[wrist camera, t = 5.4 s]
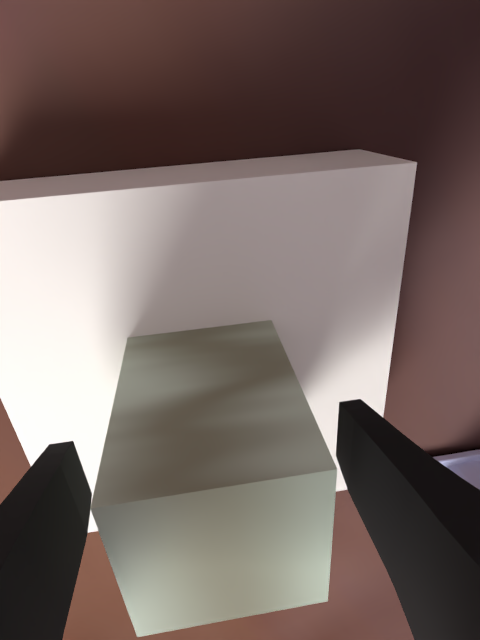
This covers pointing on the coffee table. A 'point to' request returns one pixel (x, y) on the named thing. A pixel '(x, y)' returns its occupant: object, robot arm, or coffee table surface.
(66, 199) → the plinth
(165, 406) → the sage block
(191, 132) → the coffee table surface
